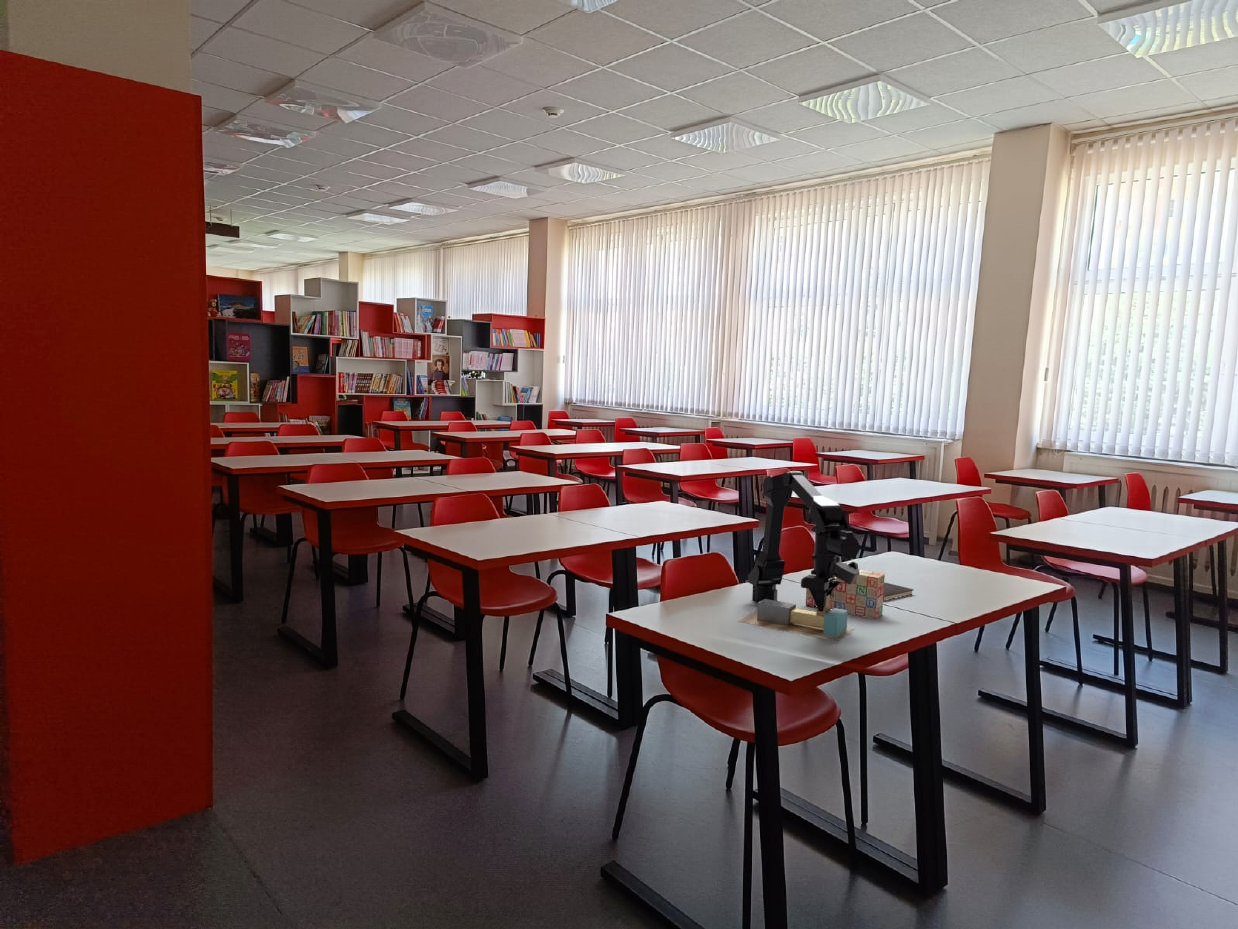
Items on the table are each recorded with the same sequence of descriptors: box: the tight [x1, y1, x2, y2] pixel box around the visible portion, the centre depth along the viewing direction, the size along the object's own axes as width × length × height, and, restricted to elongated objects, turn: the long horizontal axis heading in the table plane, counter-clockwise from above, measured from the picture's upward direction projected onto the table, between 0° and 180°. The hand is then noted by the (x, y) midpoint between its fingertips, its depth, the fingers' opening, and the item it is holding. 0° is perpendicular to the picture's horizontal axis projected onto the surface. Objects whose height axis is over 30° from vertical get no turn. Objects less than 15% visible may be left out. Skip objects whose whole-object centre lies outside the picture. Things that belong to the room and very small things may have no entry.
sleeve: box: [756, 599, 797, 626], centre depth 207 cm, size 9×5×5 cm, turn 55°
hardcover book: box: [883, 581, 915, 602], centre depth 248 cm, size 16×23×2 cm
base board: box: [737, 610, 855, 642], centre depth 204 cm, size 28×13×1 cm, turn 55°
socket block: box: [823, 608, 848, 638], centre depth 197 cm, size 4×8×5 cm, turn 145°
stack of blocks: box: [805, 569, 886, 620], centre depth 223 cm, size 21×6×12 cm, turn 53°
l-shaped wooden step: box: [789, 594, 831, 629], centre depth 202 cm, size 17×3×9 cm, turn 55°
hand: (823, 609), depth 199 cm, fingers closed on l-shaped wooden step, 3 cm apart
